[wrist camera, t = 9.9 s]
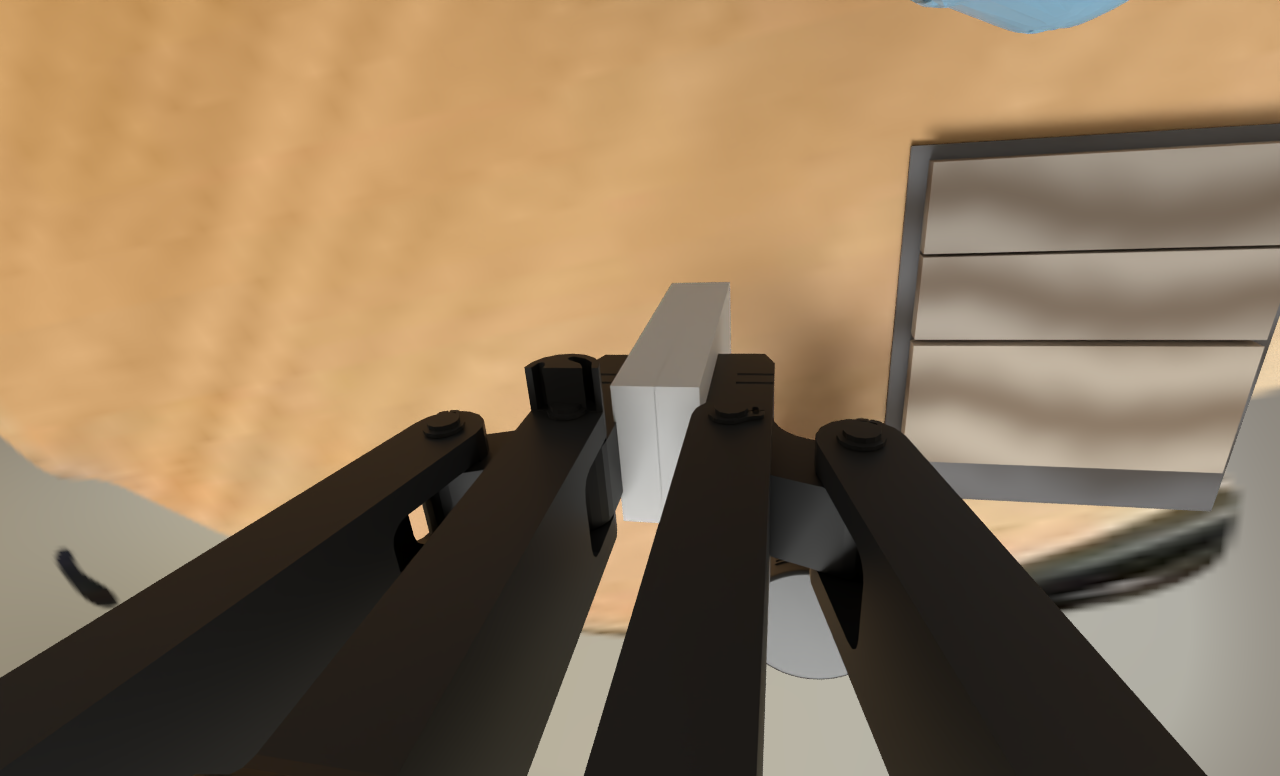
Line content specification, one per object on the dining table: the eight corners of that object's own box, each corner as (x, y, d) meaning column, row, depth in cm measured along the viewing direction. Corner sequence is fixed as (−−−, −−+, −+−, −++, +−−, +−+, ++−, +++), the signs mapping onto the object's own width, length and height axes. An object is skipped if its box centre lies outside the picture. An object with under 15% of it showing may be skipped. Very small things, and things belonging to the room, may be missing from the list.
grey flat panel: (910, 145, 35) (915, 147, 34) (1345, 119, 31) (1368, 120, 30) (878, 492, 45) (880, 504, 43) (1209, 509, 40) (1222, 522, 39)
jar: (892, 501, 45) (926, 627, 34) (820, 571, 48) (831, 705, 38) (787, 434, 44) (788, 541, 34) (722, 510, 48) (705, 628, 37)
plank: (910, 339, 40) (913, 345, 39) (1250, 340, 36) (1264, 346, 35) (899, 452, 43) (901, 460, 42) (1211, 463, 39) (1222, 473, 38)
